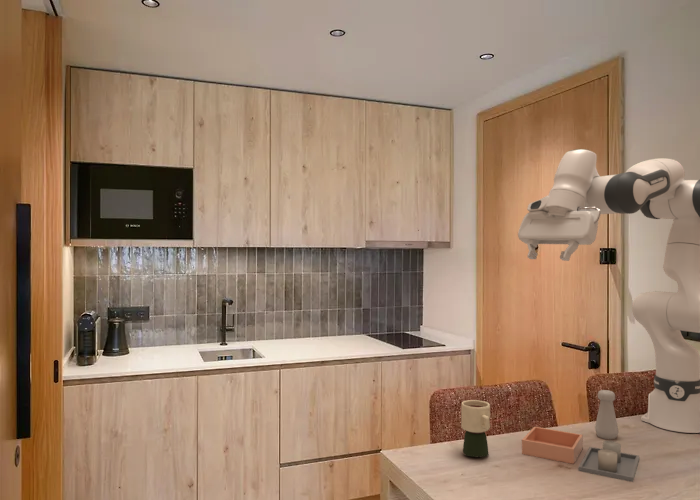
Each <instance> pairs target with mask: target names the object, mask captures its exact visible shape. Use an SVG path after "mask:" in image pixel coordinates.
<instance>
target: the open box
mask: <svg viewBox="0 0 700 500" xmlns="http://www.w3.org/2000/svg"><path fill="white" fill-rule="evenodd" d="M583 449H584V434H582V433H581V434H580V433H576V432H574V433H573V432H570V431H569V432H568V431H563V430H558V429H552V428H546V427H541V426H534V427H532V428H531V430H530V431H529V432H528V433H527V434H526V435H525V436H524V437H523V438H522V439H521V454H522V455H525V456H531V457H534V458H540V459H545V460H551V461H554V462H555V461H556V462H560V463H566V464H569V465H570V464H571V465H574V464H575V463H576V462H577V460H578V458H579V456H580V454H581V453H582V450H583Z"/></svg>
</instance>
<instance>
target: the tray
mask: <svg viewBox="0 0 700 500" xmlns="http://www.w3.org/2000/svg"><path fill="white" fill-rule="evenodd" d="M599 450H603V448H600V447H593V446H589V447H588V449H587V451H586V453H585V454H584V456H583V458H582V460H581V462H580V463H579V465H578V472H583V473H587V474H592V475H598V476H602V477H607V478H612V479H617V480H621V481H627V482H631V483H634V479H635V476H636V472H637V469H638V465H639V462H640V455H638V454H637V455H636V454H633V453H632V454H631V453H627V452H622V451H621V462H620V463H617V472H616V473H612V472H607V471H602V470H599V469H598V451H599Z"/></svg>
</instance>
